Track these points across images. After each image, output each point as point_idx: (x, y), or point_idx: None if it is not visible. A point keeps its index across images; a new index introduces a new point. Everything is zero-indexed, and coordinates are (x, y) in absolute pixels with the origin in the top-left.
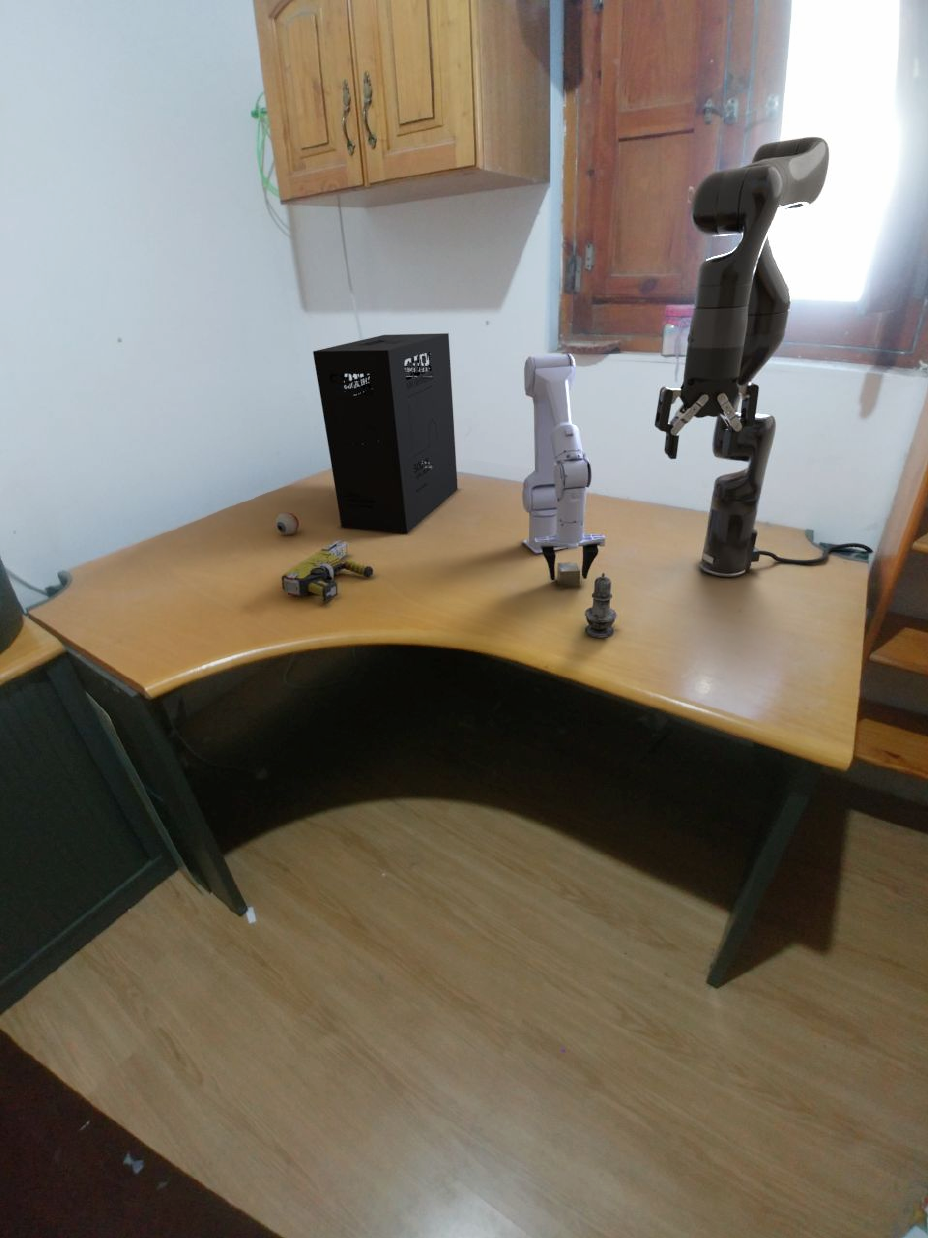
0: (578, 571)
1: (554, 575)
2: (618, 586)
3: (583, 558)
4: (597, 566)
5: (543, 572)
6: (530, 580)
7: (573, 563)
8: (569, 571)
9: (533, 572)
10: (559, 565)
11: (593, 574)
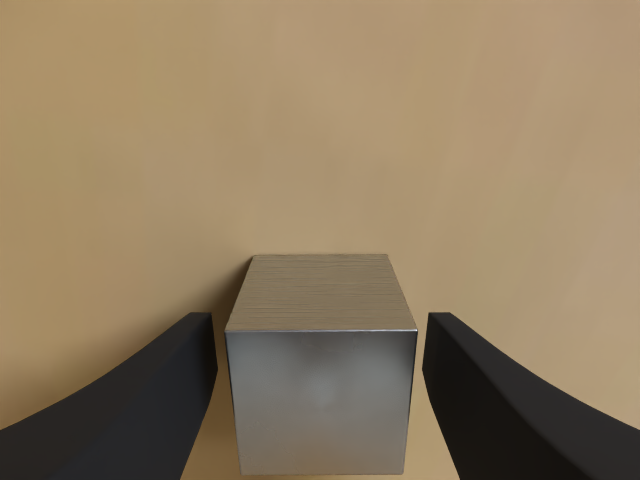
0: (387, 465)
1: (203, 412)
2: (611, 379)
3: (491, 428)
4: (634, 56)
5: (154, 119)
6: (62, 244)
7: (379, 357)
8: (312, 472)
9: (69, 107)
10: (238, 379)
11: (535, 205)
